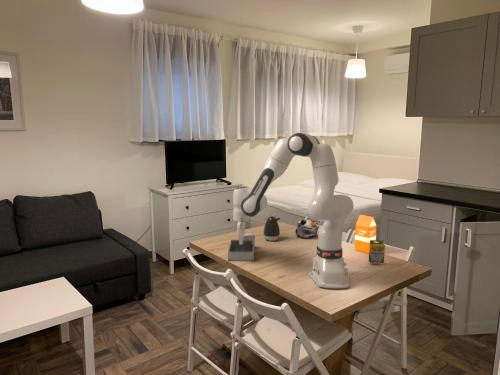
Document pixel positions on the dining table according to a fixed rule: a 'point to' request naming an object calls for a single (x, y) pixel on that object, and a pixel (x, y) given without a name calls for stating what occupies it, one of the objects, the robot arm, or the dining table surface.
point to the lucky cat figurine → (306, 228)
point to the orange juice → (364, 233)
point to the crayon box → (376, 251)
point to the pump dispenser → (271, 229)
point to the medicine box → (250, 238)
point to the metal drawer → (241, 251)
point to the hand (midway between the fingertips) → (241, 241)
